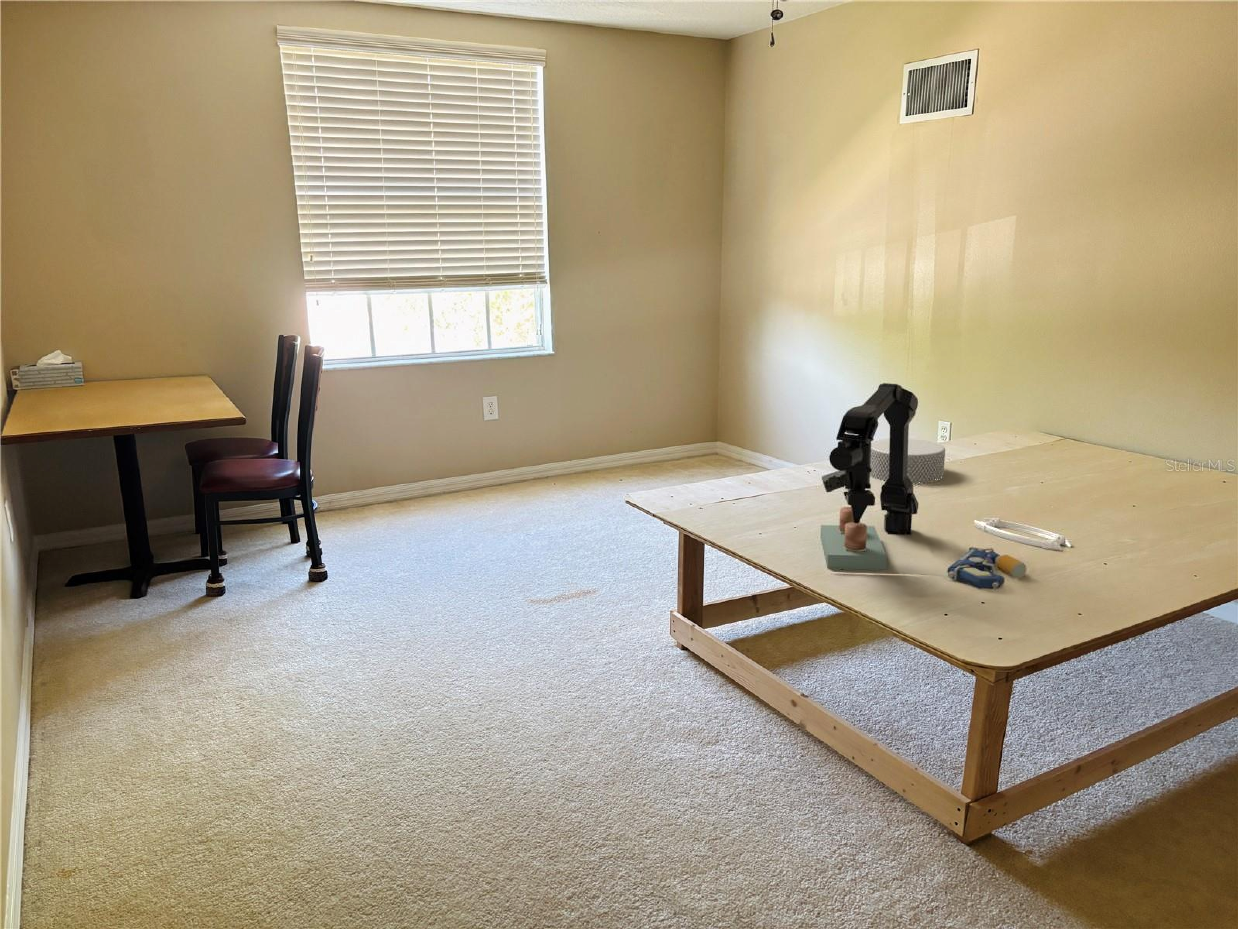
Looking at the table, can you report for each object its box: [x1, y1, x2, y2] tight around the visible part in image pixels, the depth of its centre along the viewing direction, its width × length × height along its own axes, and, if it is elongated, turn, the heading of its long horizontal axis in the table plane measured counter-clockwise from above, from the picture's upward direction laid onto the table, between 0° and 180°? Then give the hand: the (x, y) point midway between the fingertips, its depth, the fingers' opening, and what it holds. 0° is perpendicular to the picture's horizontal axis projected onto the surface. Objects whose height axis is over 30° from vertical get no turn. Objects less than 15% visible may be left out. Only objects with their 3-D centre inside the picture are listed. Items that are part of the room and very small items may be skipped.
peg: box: [844, 522, 868, 552], centre depth 208 cm, size 5×5×10 cm
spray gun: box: [946, 546, 1027, 590], centre depth 200 cm, size 21×4×15 cm
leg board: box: [820, 524, 888, 571], centre depth 215 cm, size 14×23×4 cm, turn 171°
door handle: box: [973, 517, 1072, 552], centre depth 225 cm, size 3×10×25 cm
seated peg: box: [838, 506, 861, 534], centre depth 221 cm, size 5×5×10 cm
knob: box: [870, 438, 946, 484], centre depth 288 cm, size 25×10×25 cm
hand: (855, 522), depth 207 cm, fingers closed
